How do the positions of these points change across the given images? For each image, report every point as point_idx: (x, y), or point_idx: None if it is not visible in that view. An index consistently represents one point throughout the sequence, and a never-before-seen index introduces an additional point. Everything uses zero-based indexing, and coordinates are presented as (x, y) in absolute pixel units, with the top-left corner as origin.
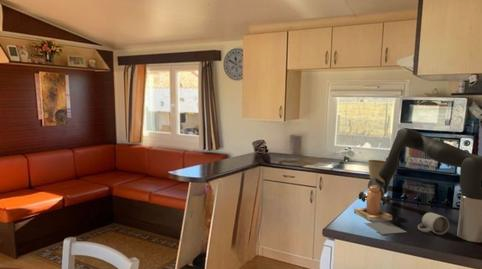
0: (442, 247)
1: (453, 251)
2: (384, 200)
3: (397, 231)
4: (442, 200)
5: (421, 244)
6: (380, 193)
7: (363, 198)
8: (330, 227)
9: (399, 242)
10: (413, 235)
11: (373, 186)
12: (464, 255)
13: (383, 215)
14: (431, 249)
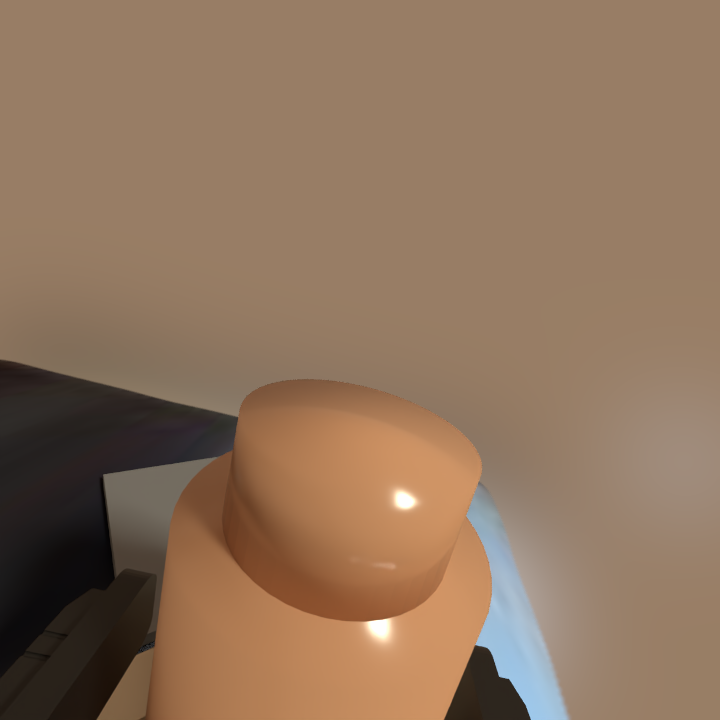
0: (39, 396)
1: (23, 380)
2: (87, 621)
3: (169, 474)
4: None
5: (126, 410)
6: (223, 468)
7: (476, 649)
8: (484, 492)
9: (218, 419)
10: (78, 466)
11: (395, 454)
12: (10, 367)
13: (143, 676)
14: (116, 390)
